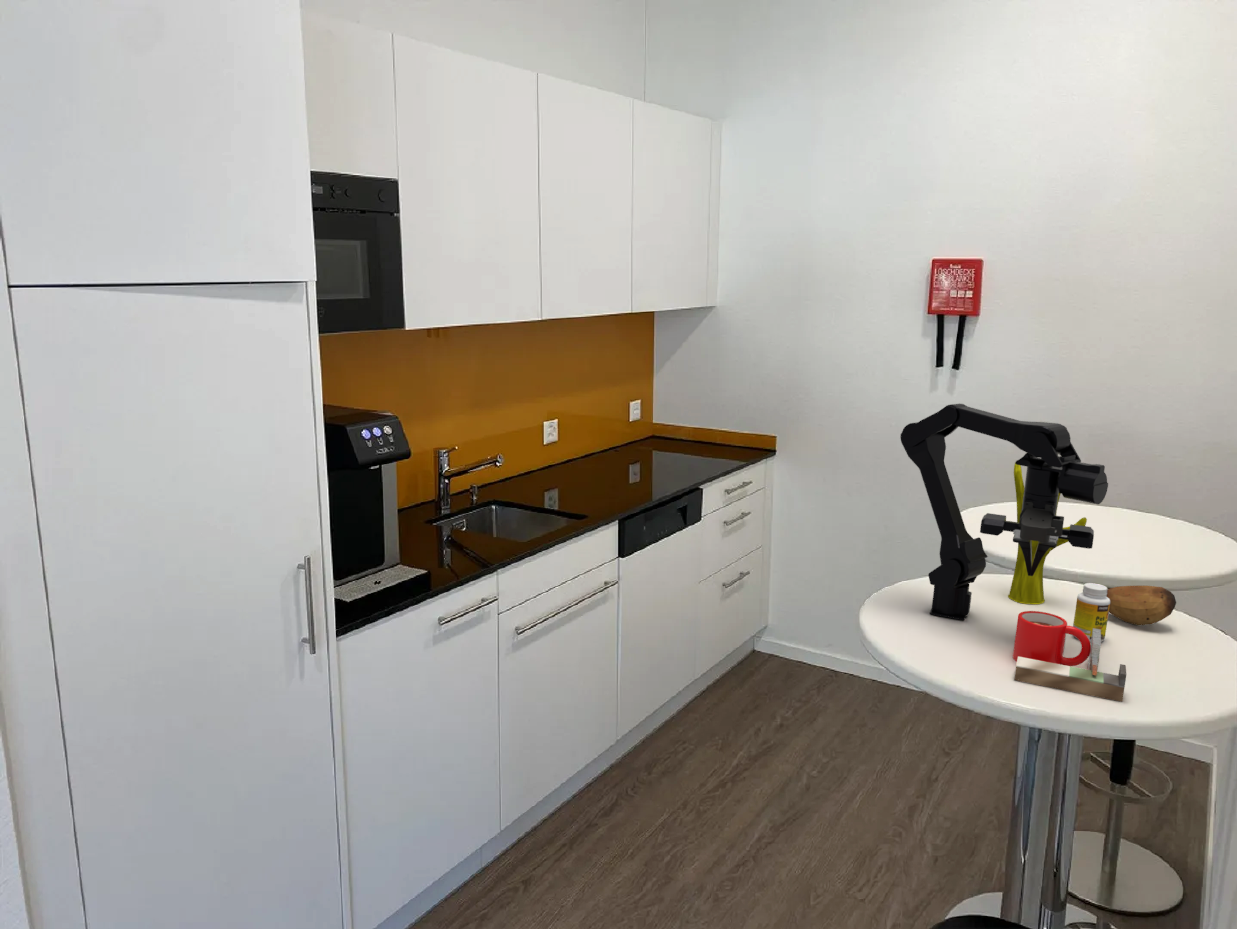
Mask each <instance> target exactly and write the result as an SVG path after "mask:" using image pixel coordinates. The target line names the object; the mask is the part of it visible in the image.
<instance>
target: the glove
mask: <svg viewBox="0 0 1237 929" xmlns="http://www.w3.org/2000/svg"><path fill="white" fill-rule="evenodd" d="M1013 479H1014V486H1015V487H1014V489H1015V499H1016V522H1019V520H1020V514H1021V512H1022V504H1023V496H1024V488H1025V483H1024V479H1023V470H1022V466H1021V465H1017V464H1016V463H1015V462H1014V465H1013ZM1061 495H1062V494H1061V493H1059V494H1058V502H1057V507H1058V505H1059V501H1060V498H1061ZM1057 511H1058V508H1057V509H1056V514H1057ZM1087 521H1088V519H1087V517H1085V516H1084V517H1081V518H1080V519H1079V520H1078V521H1076V522H1075V523H1073V525H1079V526H1087ZM1063 529H1070V525H1069V526H1065V527H1064V526H1063ZM1068 541H1069V540H1067V539H1059V538H1058V540H1057V546H1056V548H1057V547H1059V546H1060V547H1061V545H1063V544H1066V543H1069V542H1068ZM1038 543H1039V541H1033V540H1032V564H1033V560H1034V557H1035V553H1036V550H1037V546H1038ZM1052 550H1055V548H1049V549H1048V550H1047V552H1046V553H1045V554H1044V556H1043V557H1042V559H1041V561H1040V563H1039V565H1038V567H1037V569H1036V571H1035V573H1034V575H1033V576H1028V573H1027V568H1026V564H1025V559H1024V555H1023V552H1022V550H1021V547H1020V545H1019V543H1017V554H1016V561H1015V565H1014V566H1015V567H1014V571H1013V572H1014V573H1013V576H1012V581H1011V585H1010V590H1009V593H1008V595H1007V598H1009V599H1010V600H1011V601H1014V602H1015V603H1017V604H1023V605H1037V606H1038V605H1042V604H1043V603H1045V601H1046V600H1045V596H1044V576H1043V575H1044V566H1045V562H1046V558H1047V556H1048V555H1049V554H1050V552H1052Z"/></svg>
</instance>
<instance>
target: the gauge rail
mask: <svg viewBox="0 0 1237 929" xmlns="http://www.w3.org/2000/svg"><path fill="white" fill-rule="evenodd" d="M1015 664H1016V666H1015V671H1014V681H1017V682H1023V683H1027V684H1032V685H1037V686H1040V687H1041V686H1043V687H1047V688H1052V689H1056V690H1063V691H1067V692H1072V693H1076V694H1081V695H1087V696H1092V697H1097V698H1101V699H1107V700H1111V701H1116V702H1123V700H1124V694H1125V687H1126V682H1127V666H1126V664H1123V663H1120V664H1119V668H1118V669H1119V670H1118V675H1117V674H1113V673H1107V672H1102V671H1097V675H1092V670H1088V668H1087V669H1086V668H1083V667H1082V668H1081V667H1075V666H1066V665H1061V664H1055V663H1050V662H1045V661H1040V660H1034V659H1029V658H1024V657H1019V656H1018V659H1017V662H1016V663H1015Z"/></svg>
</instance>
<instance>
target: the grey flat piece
mask: <svg viewBox="0 0 1237 929" xmlns="http://www.w3.org/2000/svg"><path fill="white" fill-rule="evenodd" d="M1090 644H1091V652H1090V655H1089V657H1088V658H1087V670H1092V675H1097V672H1098V668H1099V663H1100V654H1101V648H1102V647H1101V646H1102V642H1101V630H1100V629H1095V628H1093V631H1092V638H1091V642H1090Z"/></svg>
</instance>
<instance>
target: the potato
mask: <svg viewBox="0 0 1237 929" xmlns="http://www.w3.org/2000/svg"><path fill="white" fill-rule="evenodd" d="M1106 597H1108V598H1109V599H1110V608H1109V614H1110V615H1112V616H1113V617H1115V618H1117V619H1119V620H1120V621H1123V622H1124V623H1128V624H1131V625H1136V626H1138V627H1139V626H1149V625H1153V624H1156V623H1158V622H1161V621H1163V620H1165V619H1166V618H1168V617H1169V616H1170V615H1171V614H1172V613H1173V611H1174V609H1175V608H1176V604H1177V600H1176V597H1175V594H1174V593H1172V592H1171V591H1170V590H1168V589H1167V588H1164V587H1163V586H1155V585H1153V586H1152V585H1122V586H1115V587H1110V588H1107V596H1106Z"/></svg>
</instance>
